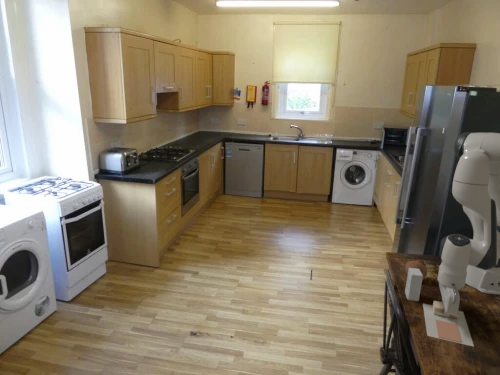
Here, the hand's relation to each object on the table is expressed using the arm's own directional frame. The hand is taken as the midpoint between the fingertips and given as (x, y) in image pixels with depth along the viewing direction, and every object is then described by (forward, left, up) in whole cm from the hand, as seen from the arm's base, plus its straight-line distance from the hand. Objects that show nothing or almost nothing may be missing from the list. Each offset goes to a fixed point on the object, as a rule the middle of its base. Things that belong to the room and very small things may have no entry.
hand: (445, 310), depth 133 cm
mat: (0, +6, -2) cm, 6 cm away
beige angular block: (0, 0, -1) cm, 1 cm away
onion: (+9, -24, -2) cm, 26 cm away
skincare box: (+11, -8, -2) cm, 14 cm away
